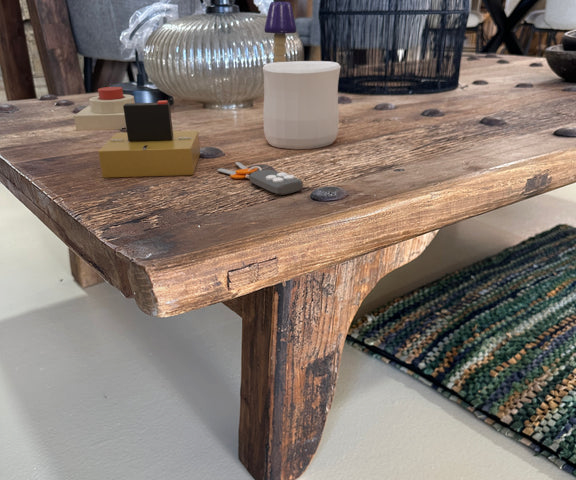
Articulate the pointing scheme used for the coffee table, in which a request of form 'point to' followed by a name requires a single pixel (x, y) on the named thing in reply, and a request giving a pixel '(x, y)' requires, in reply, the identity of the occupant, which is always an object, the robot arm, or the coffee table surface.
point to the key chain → (267, 179)
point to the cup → (301, 104)
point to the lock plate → (150, 156)
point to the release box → (103, 114)
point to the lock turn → (148, 121)
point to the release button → (110, 93)
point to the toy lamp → (280, 26)
